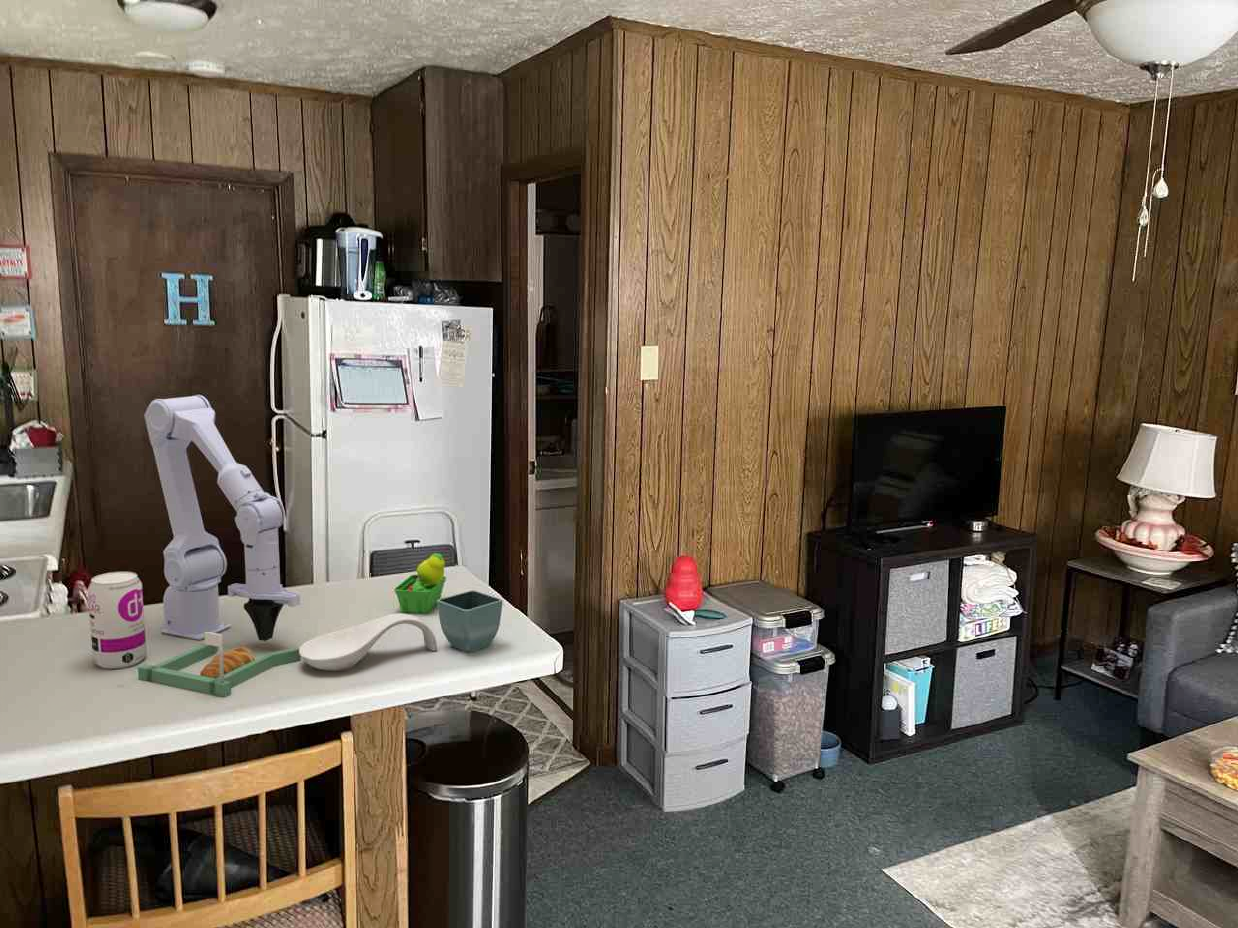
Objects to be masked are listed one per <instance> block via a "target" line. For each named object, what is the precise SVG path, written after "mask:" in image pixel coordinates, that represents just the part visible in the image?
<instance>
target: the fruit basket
mask: <svg viewBox="0 0 1238 928" xmlns="http://www.w3.org/2000/svg"><path fill="white" fill-rule="evenodd" d="M445 563H446V562H445V560H444V556H443V555H442V554H440V553H433V554H431V555H430V556H429V557H428V558H426V559H425V560H424V561H422V562H421V563H420V564H419V565H418V566H417V568H416V572H417V574H412V575H409V576H408V577H407V578H406V579H405V580H403V581H402V582H401V583H400V584H399V585H397V586H396V587H395V588H394V593H395V595H396V596H397V600H398V603H399V607H400V610H401V612H402V613H408V614H427V613H428V612H429V611H430V610H431V609H432V608H433V607H434V606H436V605H437V600H438V599H442V598H441V596H442V594H443V589H444V585H445V583H446V580H447V576H444V574H445Z"/></svg>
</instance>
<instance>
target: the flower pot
mask: <svg viewBox="0 0 1238 928" xmlns="http://www.w3.org/2000/svg"><path fill="white" fill-rule="evenodd" d="M503 601H504V600H503V599H502V598H499V597H496V596H492V595H490V594H486V593H484V592H481V591H478V590H474V589H473V590H468V591H464V592H460V593H457V594H454V595H450V596H446V597H443V598H440V599H438V600H437V603H436V605H437V611H438V612H437V613H438V618H439V619H438V620H439V623H440V628H441V630H442V632H443V635H444V637H445V638H446V640H447V641H448V642H449V644H450V645H451V646H452V647H454V648H456V649H459V650H461V651H463V652H465V653H471V652H475V651H478V650H480V649H481V650H482V649H484V648H486V647H489V646H490V645H491V644H492V642H493V641H494V639H495V637H496V636H497V635H498V634H497V633H498V631H499V629H500V625H501V618H502V609H503Z"/></svg>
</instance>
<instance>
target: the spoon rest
mask: <svg viewBox="0 0 1238 928" xmlns="http://www.w3.org/2000/svg"><path fill="white" fill-rule="evenodd" d="M402 624H403V625H404V624H405V625H412V626H414V627H417V628H418V629H419V630H421V631H422V634H423V641H424V645H425V647H426V648H427V649H429V650H430V651H432V652H436V651H437V650H438V646H437V639H436V637H435V634H434V632H433V630H432V629H431V628H430V627H429V626H428V625H427V624H426V623H425V622H424V621H423V620H422V619H421V618H419V617H417V616H415V615H413V614H410V613H392V614H387V615H384V616H380V617H378V618H375V619H373V620H370V621H366V622H363V623H361V624H358V625H354V626H352V627H347V628H344V629H341V630H337V631H332V632H328V633H325V634H322V635H318V636H316V637H313V638H311V639H308V640H307V641H305V642H304V643H303V644H302V645H300V646H299V648H300V649H299V654H300V656H301V660H303V661H304V662H305V663H306V664H308V665H309V666H311V667H313V668H314V669H318V670H321V671H328V670H329V672H330V671H331V672H333V671H337V670H338V671H343V669H344V670H348V669H351V668H353V667H355V666H356V665H357V663H358V662H360V660H362V659H363V658H364V657H365V655H366V654H367V653H368V652H369V650H371V649H372V647H373V646H374V645H375V643H377V641H378V640H379V639H380V638H381V637H382V636H383V635H384V634H385V633H386V632H388V631H389V630H390V629H392V628H393V627H396V626H398V625H402ZM354 665H355V666H354ZM347 668H348V669H347ZM338 671H337V672H338Z"/></svg>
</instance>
